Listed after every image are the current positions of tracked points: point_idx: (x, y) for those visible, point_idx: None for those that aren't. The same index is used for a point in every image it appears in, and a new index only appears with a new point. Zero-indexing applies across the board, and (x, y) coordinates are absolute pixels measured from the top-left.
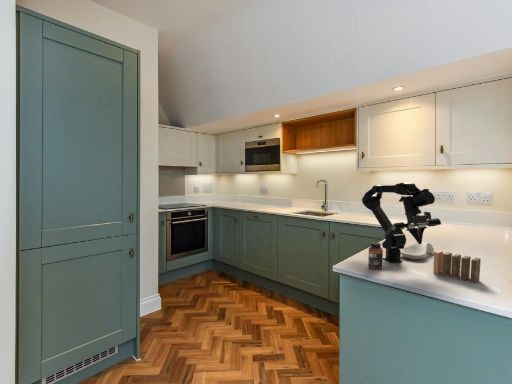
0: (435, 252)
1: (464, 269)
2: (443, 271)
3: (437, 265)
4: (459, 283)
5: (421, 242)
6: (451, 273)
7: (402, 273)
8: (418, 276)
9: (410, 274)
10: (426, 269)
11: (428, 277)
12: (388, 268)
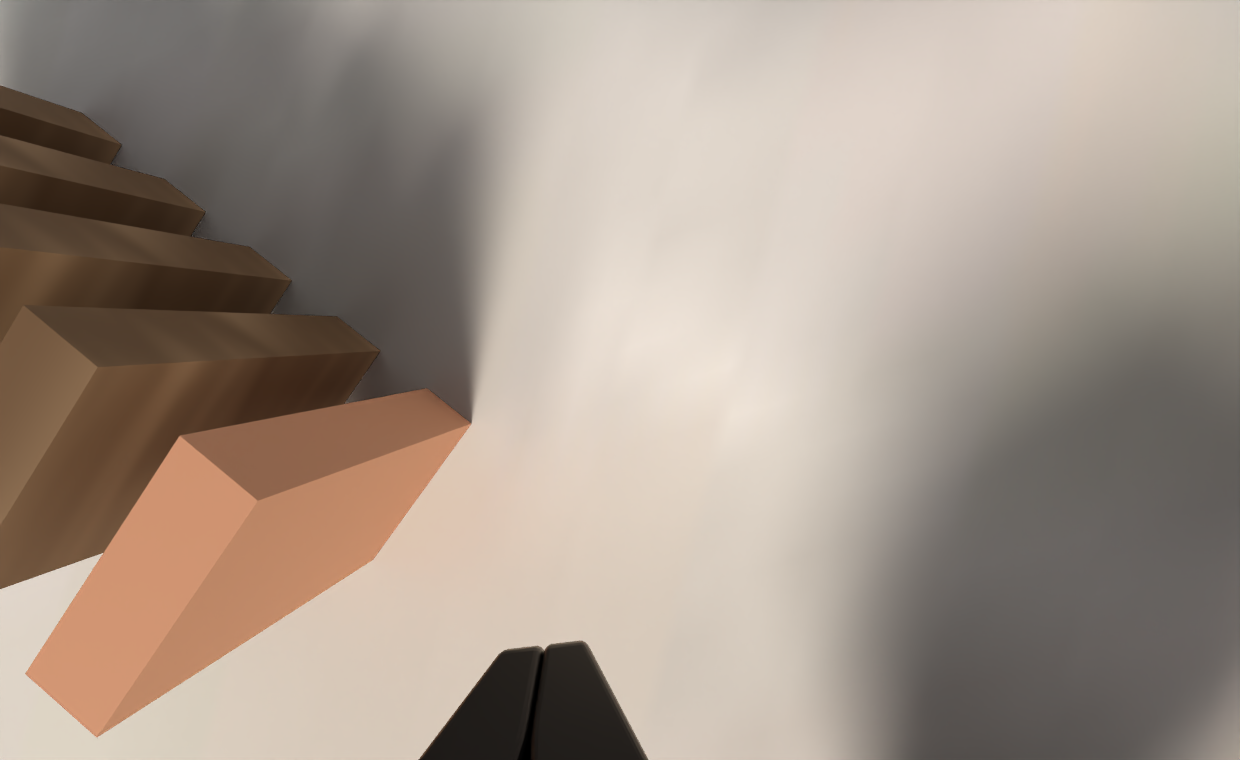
0: (235, 482)
1: (19, 146)
2: (334, 340)
3: (365, 405)
4: (264, 32)
5: (488, 675)
6: (249, 274)
7: (984, 217)
8: (750, 146)
9: (856, 209)
10: (526, 570)
11: (607, 152)
12: (1184, 440)
